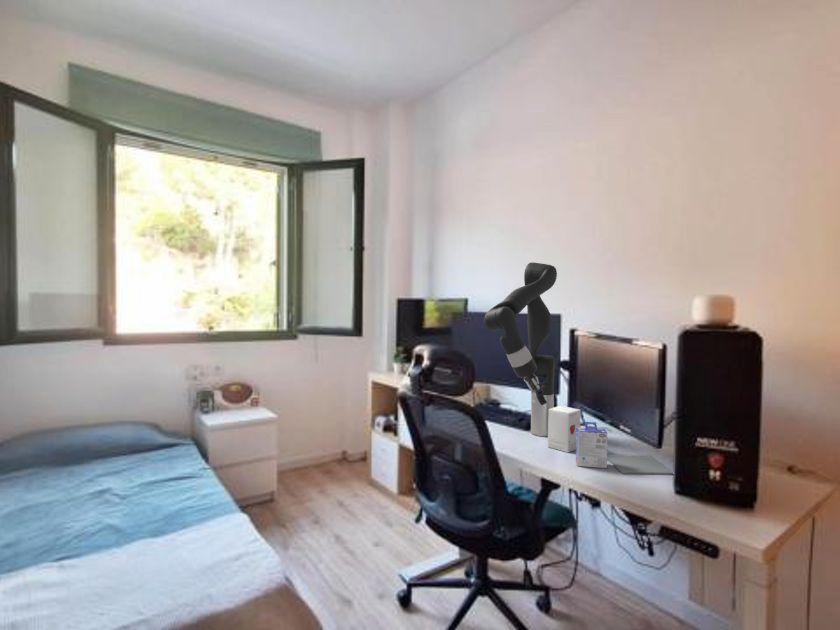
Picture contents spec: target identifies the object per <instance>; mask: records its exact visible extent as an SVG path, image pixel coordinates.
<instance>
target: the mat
mask: <svg viewBox="0 0 840 630" xmlns="http://www.w3.org/2000/svg"><path fill="white" fill-rule="evenodd" d="M607 462H609V463H610V464H611V465H612V464H613V465H614V468H616V469H617V470H618V472H620V474H622V475H662V474H673V472H674V470H672V469H671V468H670V467H668V466H666V465H665V464H664V463H662V462H661V461H659V460H658V459H656V458H655V457H654V456H652V455H617V454H616V455H615V454H613V455H611V454H610V455H608V454H607ZM613 465H612V466H613Z"/></svg>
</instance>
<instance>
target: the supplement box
mask: <svg viewBox="0 0 840 630" xmlns="http://www.w3.org/2000/svg"><path fill="white" fill-rule="evenodd" d="M581 411H582V410H581V409H579V408H576V407H575V408H574V407H569V406H565V405H559V406H558V405H557V406H554V408H551V409H549V417H548V436H547V447H548V448H550V449H555V450H559V451H562V452H564V453H570V452H572V451H576V428H581Z"/></svg>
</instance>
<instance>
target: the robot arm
mask: <svg viewBox="0 0 840 630" xmlns="http://www.w3.org/2000/svg"><path fill="white" fill-rule="evenodd" d="M557 271H558V270H557V268H556V267H555V266H554V265H551V264H549V263H548V264H547V263H541V262H529V263H528V264H527V265H526V266H525V269H524V275H523V280H524V285H523V286H521V287H518V288H516V289H514V290H512V291H511V292H510V293H509V294H508V295H507V296H506V297H505V298H504V299H503V300H502V301H500V302H499V303H497V304H495V306H493V307H492V308H489V310H487V312H486V313H485V315H484V319H483V321H484V322H483V323H484V325H485V327H486V328H487V329H489V330H490V331H498V330H503V329H504V334H503V335H501V336H500V338H499V343H500V345H501V346H502V349H503V350H504V353H505V355H506V357H507V360H508V362H509V364H510V365H511V367H512V369H513V372H514V374H515V375H516V377H517V378H523V380H524V382H525V383H526V385H527V387H528V388H529V389H530V391H531V393H530V394H531V396H530V397H531V399H530V400H531V401H530V434H532V435H534V436H538V437H548V417H549V409H551V408H554V407H555V406H554V405H555V397H554V396H555V390H554V389H555V370H556V359H555V357H554V356H553V355H547V354H545V355H543V354H537V353H538V351H539V349H540V347H542V344H543V343H544V342H545V341H546V340H547V338H548V337H549V336H550V334H551V331H552V314H551V313H550V310H549V309H548V307H547V305H546V304H545V302H544V301H543V299H542V297H541V295H543V294H544V293H545V292H548V291H549V290H550V289H552V288H553V286H554V285H555V283H556V280H557V277H558V273H557ZM525 308H527V336H528V347H527V346H526V344H525V342H524V340H523V339H522V336H521V334H520V330H519V325H518V320H517V317H516V316H518V315H519V314H520V313H521V312H522V311H523V309H525ZM539 378H545V380H544V381H542V382H539Z"/></svg>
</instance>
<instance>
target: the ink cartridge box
mask: <svg viewBox="0 0 840 630" xmlns="http://www.w3.org/2000/svg"><path fill="white" fill-rule="evenodd" d="M592 425H593V426H592ZM607 455H608V432H607V430H606V429H605V428H598V425H597V422H594V421H585V427H580V428H576V449H575V464H576V466H577V467H587V468H600V469H607V468H608V467H607V466H608V460H607Z"/></svg>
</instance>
